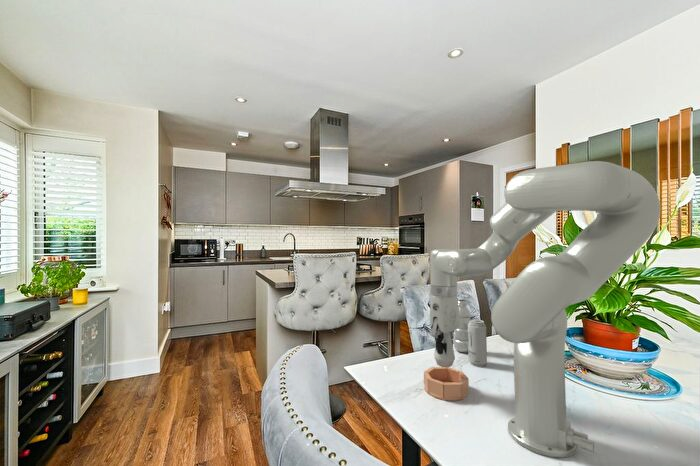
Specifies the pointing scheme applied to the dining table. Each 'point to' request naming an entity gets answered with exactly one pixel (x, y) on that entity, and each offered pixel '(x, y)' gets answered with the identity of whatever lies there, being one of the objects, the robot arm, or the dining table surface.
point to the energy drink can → (477, 343)
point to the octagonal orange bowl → (446, 383)
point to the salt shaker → (449, 357)
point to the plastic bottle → (462, 328)
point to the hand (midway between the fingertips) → (444, 353)
